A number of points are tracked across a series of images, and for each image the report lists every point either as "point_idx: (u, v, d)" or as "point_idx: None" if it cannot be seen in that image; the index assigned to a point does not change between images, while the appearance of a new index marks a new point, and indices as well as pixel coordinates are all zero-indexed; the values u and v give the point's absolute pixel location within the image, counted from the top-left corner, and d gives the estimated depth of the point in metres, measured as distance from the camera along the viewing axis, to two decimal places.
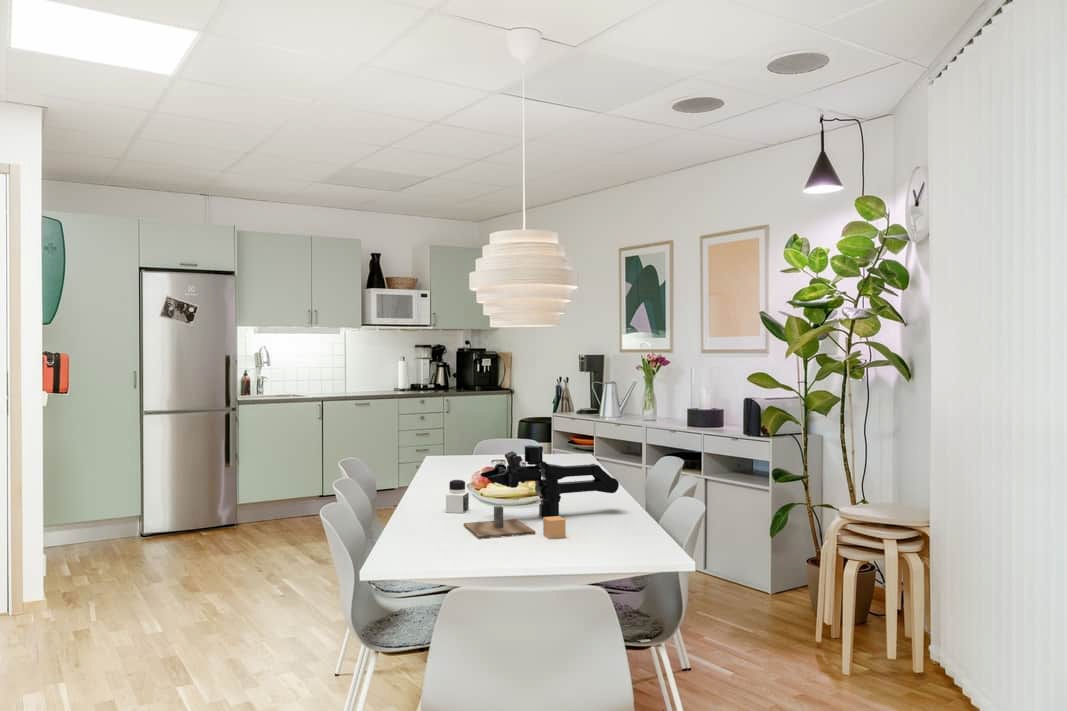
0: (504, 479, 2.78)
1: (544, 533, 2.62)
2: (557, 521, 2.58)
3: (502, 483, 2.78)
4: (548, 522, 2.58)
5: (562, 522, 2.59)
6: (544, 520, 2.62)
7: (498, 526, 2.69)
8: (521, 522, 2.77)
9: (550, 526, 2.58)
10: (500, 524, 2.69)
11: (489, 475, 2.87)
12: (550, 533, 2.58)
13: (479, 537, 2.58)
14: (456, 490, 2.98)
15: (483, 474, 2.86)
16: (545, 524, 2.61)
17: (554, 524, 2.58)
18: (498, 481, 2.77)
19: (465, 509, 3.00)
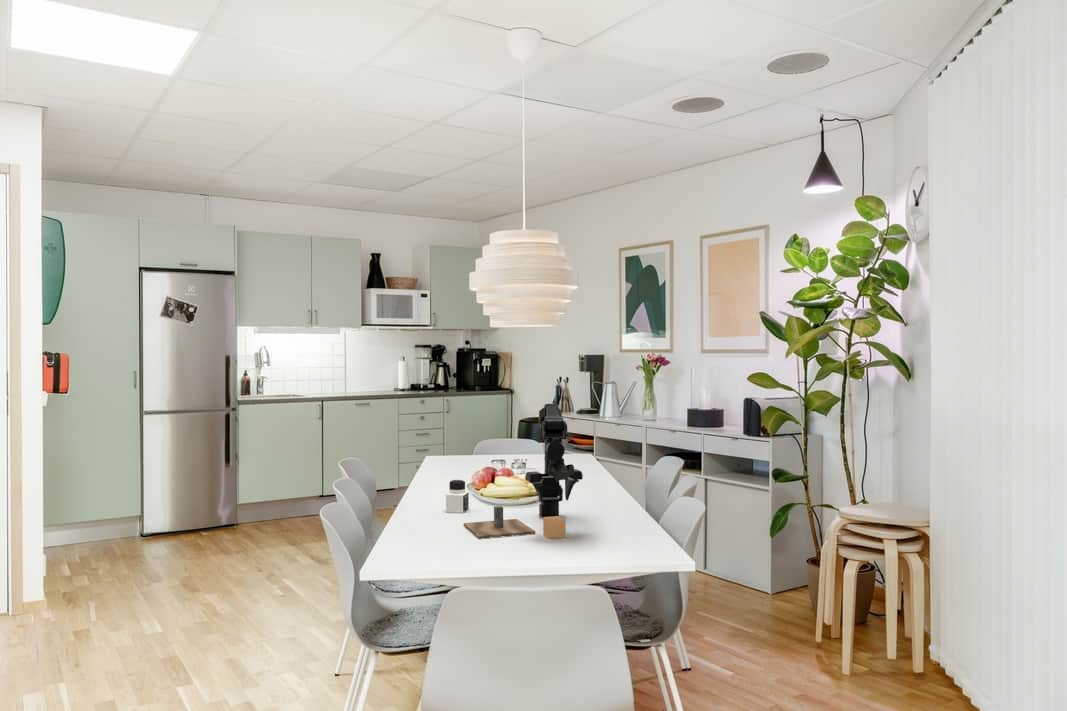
0: None
1: (544, 533, 2.62)
2: (557, 521, 2.58)
3: None
4: (548, 522, 2.58)
5: (562, 522, 2.59)
6: (544, 520, 2.62)
7: (498, 526, 2.69)
8: (521, 522, 2.77)
9: (550, 526, 2.58)
10: (500, 524, 2.69)
11: None
12: (550, 533, 2.58)
13: (479, 537, 2.58)
14: (456, 490, 2.98)
15: None
16: (545, 524, 2.61)
17: (554, 524, 2.58)
18: None
19: (465, 509, 3.00)
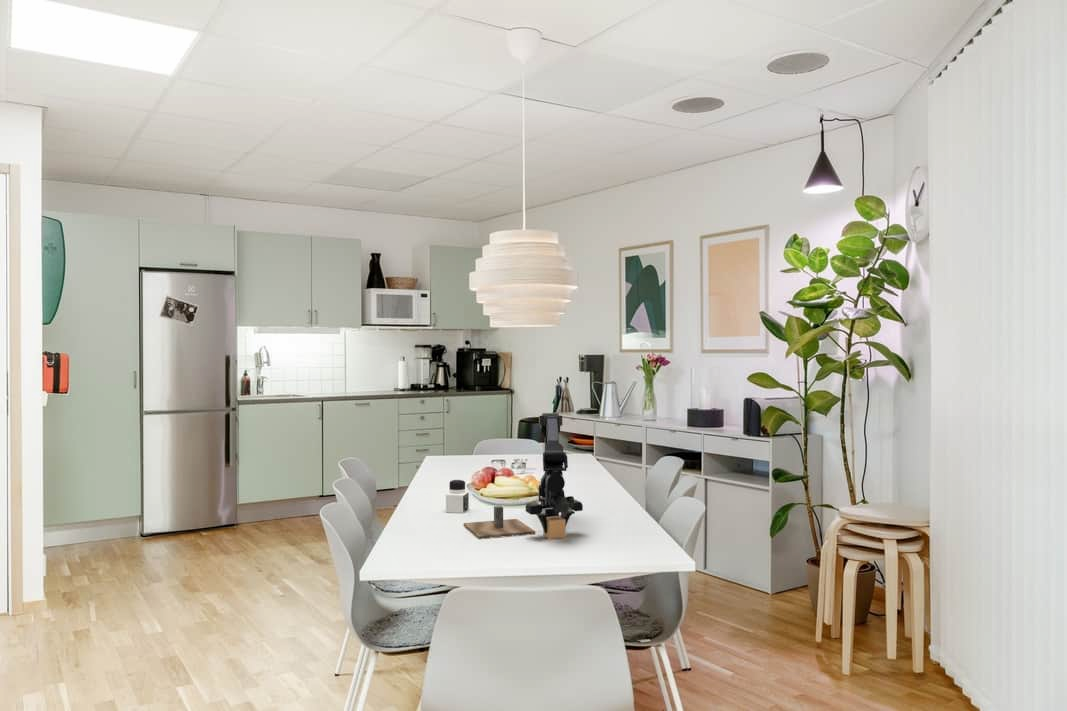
0: None
1: (544, 533, 2.62)
2: (557, 521, 2.58)
3: None
4: (548, 522, 2.58)
5: (562, 522, 2.59)
6: None
7: (498, 526, 2.69)
8: (521, 522, 2.77)
9: (550, 526, 2.58)
10: (500, 524, 2.69)
11: None
12: (550, 533, 2.58)
13: (479, 537, 2.58)
14: (456, 490, 2.98)
15: None
16: None
17: (554, 524, 2.58)
18: None
19: (465, 509, 3.00)
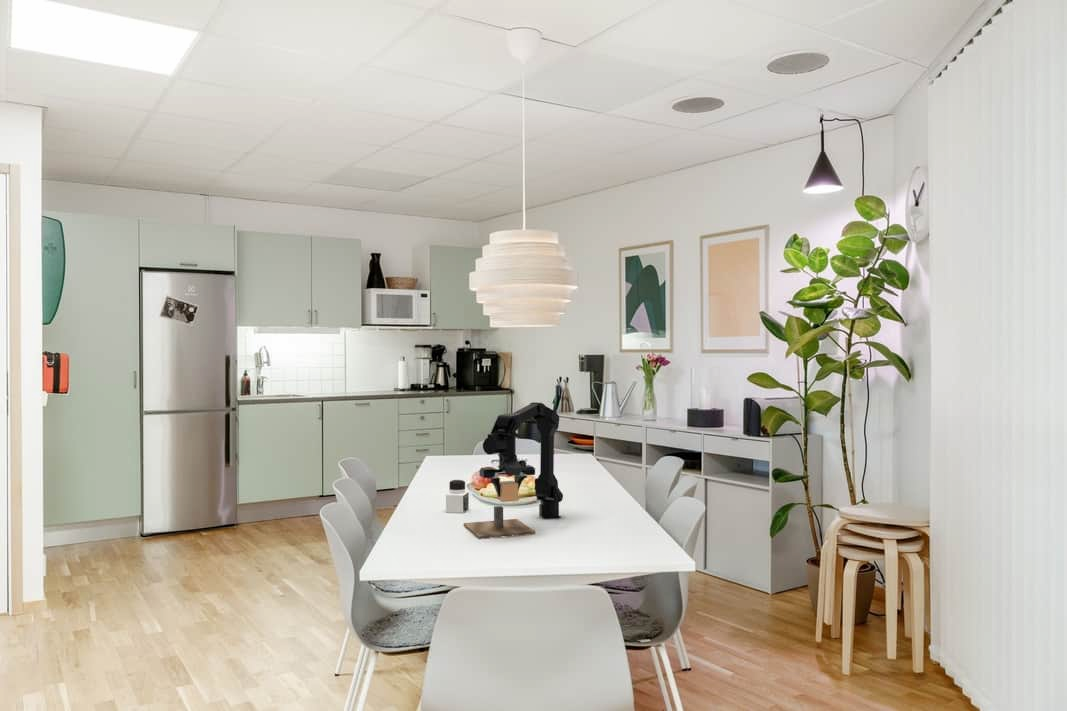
0: None
1: (498, 497, 2.69)
2: (510, 485, 2.66)
3: None
4: (501, 486, 2.65)
5: (515, 486, 2.66)
6: None
7: (498, 526, 2.69)
8: (521, 522, 2.77)
9: (503, 489, 2.65)
10: (500, 524, 2.69)
11: None
12: (503, 496, 2.65)
13: (479, 537, 2.58)
14: (456, 490, 2.98)
15: None
16: None
17: (507, 488, 2.65)
18: None
19: (465, 509, 3.00)
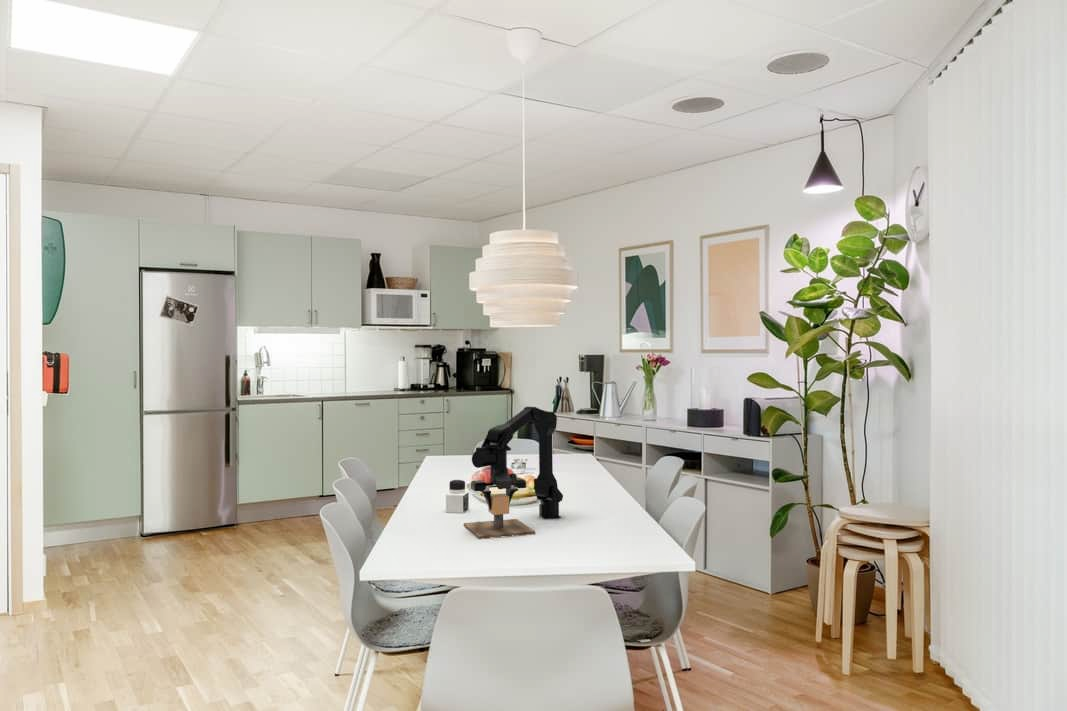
0: None
1: (489, 510, 2.71)
2: (501, 498, 2.67)
3: None
4: (492, 499, 2.67)
5: (506, 499, 2.68)
6: None
7: (498, 526, 2.69)
8: (521, 522, 2.77)
9: (494, 502, 2.67)
10: (500, 524, 2.69)
11: None
12: (494, 509, 2.67)
13: (479, 537, 2.58)
14: (456, 490, 2.98)
15: None
16: None
17: (498, 501, 2.67)
18: None
19: (465, 509, 3.00)
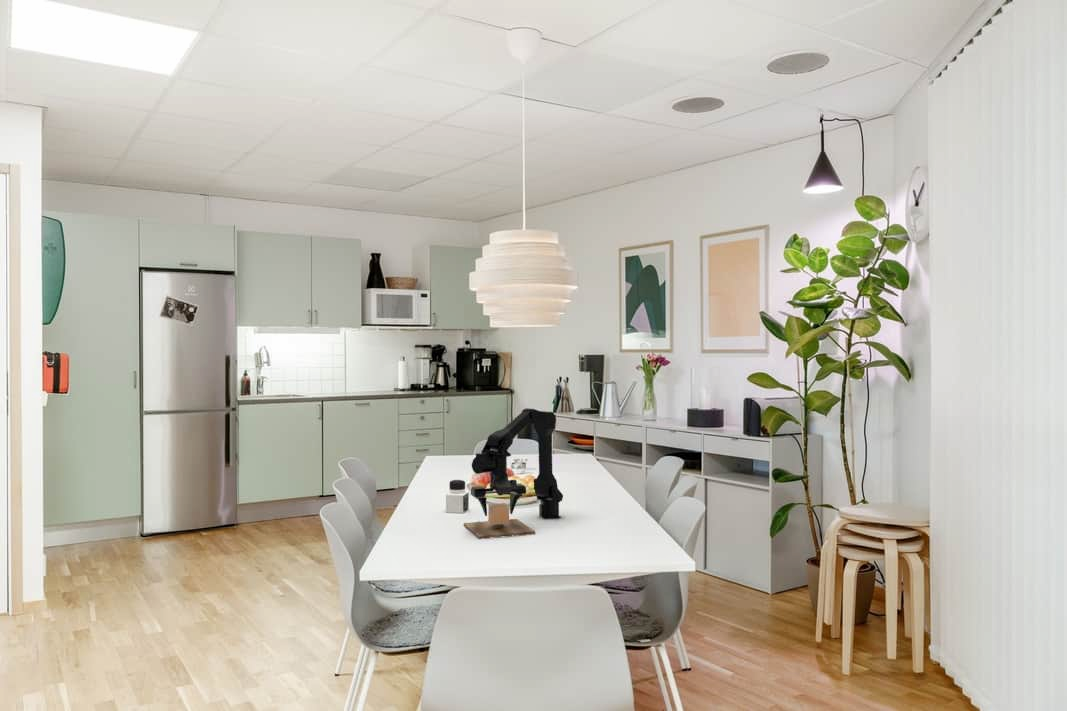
0: None
1: (489, 519, 2.71)
2: (501, 508, 2.67)
3: None
4: (492, 509, 2.67)
5: (506, 509, 2.68)
6: (489, 507, 2.71)
7: (498, 526, 2.69)
8: (521, 522, 2.77)
9: (494, 512, 2.67)
10: (500, 524, 2.69)
11: None
12: (494, 519, 2.67)
13: (479, 537, 2.58)
14: (456, 490, 2.98)
15: None
16: (489, 511, 2.70)
17: (498, 511, 2.67)
18: None
19: (465, 509, 3.00)
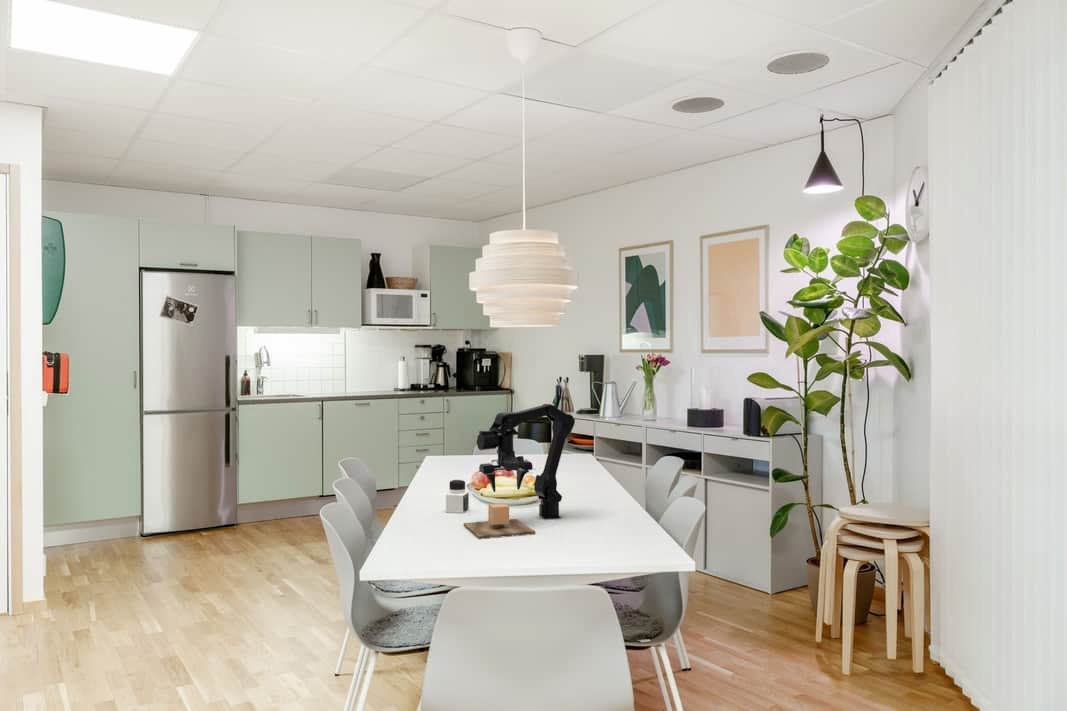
0: None
1: (489, 519, 2.71)
2: (501, 508, 2.67)
3: None
4: (492, 509, 2.67)
5: (506, 509, 2.68)
6: (489, 507, 2.71)
7: (498, 526, 2.69)
8: (521, 522, 2.77)
9: (494, 512, 2.67)
10: (500, 524, 2.69)
11: None
12: (494, 519, 2.67)
13: (479, 537, 2.58)
14: (456, 490, 2.98)
15: None
16: (489, 511, 2.70)
17: (498, 511, 2.67)
18: None
19: (465, 509, 3.00)
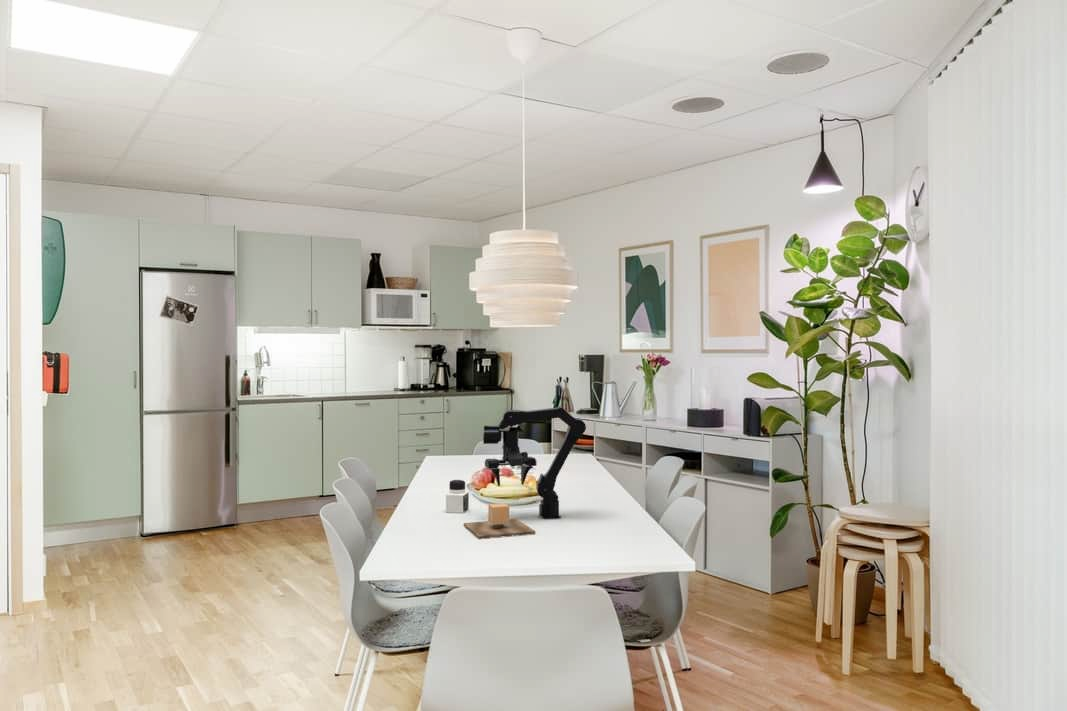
0: None
1: (489, 519, 2.71)
2: (501, 508, 2.67)
3: None
4: (492, 509, 2.67)
5: (506, 509, 2.68)
6: (489, 507, 2.71)
7: (498, 526, 2.69)
8: (521, 522, 2.77)
9: (494, 512, 2.67)
10: (500, 524, 2.69)
11: None
12: (494, 519, 2.67)
13: (479, 537, 2.58)
14: (456, 490, 2.98)
15: None
16: (489, 511, 2.70)
17: (498, 511, 2.67)
18: None
19: (465, 509, 3.00)
